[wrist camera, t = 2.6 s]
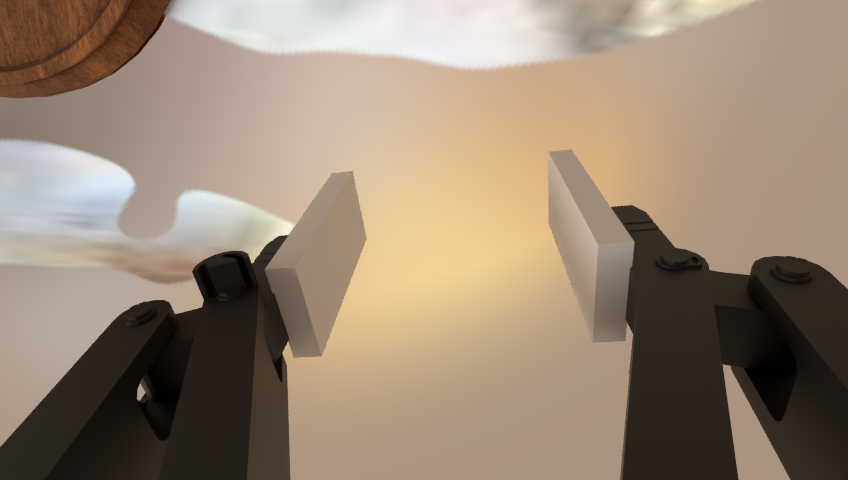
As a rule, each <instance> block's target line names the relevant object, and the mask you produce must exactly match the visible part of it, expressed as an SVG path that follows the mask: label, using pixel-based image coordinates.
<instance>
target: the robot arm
mask: <svg viewBox="0 0 848 480" xmlns="http://www.w3.org/2000/svg"><path fill="white" fill-rule="evenodd" d="M548 158H549V159H548V163H549V165H548V166H549V167H548V168H549V170H548V171H549V225H550V228H551V231H552V234H553V236H554V239H555V242H556V245H557V247H558V249H559V253H560V255H561V258H562V261H563V263H564V266H565V269H566V271H567V274H568V277H569V280H570V282H571V285H572V288H573V290H574V293H575V296H576V298H577V301H578V304H579V306H580V309H581V312H582V315H583V317H584V320H585V322H586V325H587V328H588V331H589V333H590V336H591V339H592V342H593V343H594V342H612V341H613V342H614V341H625V338H626V328H627V323H628V325H629V327H630V329H631V331H632V333H633V342H632V353H631V362H630V371H629V374H630V376H629V386H628V398H627V409H626V420H625V432H624V443H623V455H622V465H621V478H620V480H738V473H737V466H736V459H735V452H734V445H733V438H732V430H731V423H730V416H729V410H728V401H727V394H726V387H725V380H724V372H723V365H722V364H724V365H730V366H731V370H732V372H733V373H734V375H735V377H736V379H737V381H738V383H739V385H740V387H741V388H742V390H743V392H744V394H745V396H746V398H747V399H748V401H749V403H750V405H751V407H752V409H753V410H754V413H755V414H756V416H757V418H758V420H759V422H760V424H761V425H762V427H763V429H764V431H765V433H766V434H767V437H768V438H769V440H770V442H771V444H772V446H773V448H774V450H775V452H776V453H777V455H778V457H779V459H780V461H781V463H782V464H783V466H784V468H785V470H786V472H787V474H788V476H789V478H790V479H791V480H848V289H847V288H846V287H845V286H844V285H842V284H841V283H840V282H839V281H838V280H837V279H836V278H835V277H834V276H833V275H832V274H831V273H830V272H828V271H827V270H826V269H824V268H823V267H821V266H819V265H817V264H814V263H812V262H809V261H807V260H805V259H801V258H796V257H791V256H786V257H783V256H772V257H764V258H761V259H759V260H756V261H755V262H754V264H753V266H752V268H751V273H750V275H742V274H733V273H723V272H717V271H711V270H709V265H708V263H707V262H706V260H705V259H704V258H703V257H701V256H700V255H698V254H696V253H693V252H691V251H688V250H684V249H679V248H675V247H674V246H673V245H672V243H671V242H670V241H669V240H668V239H667V237H666V236H665V235H664V234H663V232H662V231H661V230H659V228H658V226H657V225H656V224H655V223H653V220H652V219H651V218H650V217H649V215H648V214H647V213H646V212H644V211H642V210H640V209H638V208H637V207H635V206H632V205H629V206H617V207H610V205H609V204H608V202H607V201H606V200H605V198H604V197H603V195H602V194H601V192H600V191H599V189H598V188H597V186H596V185H595V183H594V182H593V181H592V179H591V178H590V176H589V175H588V173H587V172H586V170H585V169H584V167H583V166H582V165H581V163H580V162H579V160H578V159H577V157H576V156H575V154H574V153H573V151H572V150H561V151H551V152H548ZM365 241H366V234H365V229H364V224H363V220H362V214H361V210H360V205H359V200H358V195H357V190H356V186H355V181H354V176H353V171H350V172H341V173H332V174H331V176H330V177H329V178H328V180H327V181H326V183H325V184H324V186H323V187H322V188H321V190H320V191H319V193H318V194H317V196H316V197H315V198H314V200H313V201H312V203H311V204H310V206H309V207H308V209H307V210H306V211H305V213H304V214H303V216H302V217H301V218H300V220H299V221H298V223H297V224H296V225H295V227H294V228H293V230H292V231H291V233H290V234H289V235H285V236H278V237H277V238H275V239H274V240H273V241H271V242H270V243H268V244H267V245H266V246H265V247H264V249H263V250H262V251H261V253H260V255H258V257H257V258H256V259H255V261H254V263H252V264H251V261H250V258H249V256H248V254H247V253H245V252H243V251H229V252H223V253H220V254H217V255H213V256H211V257H209V258H207V259H205V260H203V261H202V262H200V263H199V264H198V265H196V266H195V268H194V269H193V271H192V273H193V275H194V277H195V280H196V282H197V284H198V286H199V289H200V292H201V294H202V296H203V299H204V302H203V306H202V308H198V309H195V310H191V311H187V312H183V313H179V314H175V313H174V311H173V309H172V307H171V305H170V303H169V302H167V301H165V300H153V301H149V302H142V303H139V305H138V304H137V305H134V306H132V307H131V308H130V309H128V310H127V311H125V312H123V313H122V314H121V315H119V316H118V317H117V318H116V319H115V320H114V321H113V322H112V323H111V324H110V325H109V327H108V328H107V329H106V330H105V331H104V332H103V333H102V334H101V335H100V336H99V338H98V339H97V340H96V341H95V342H94V343H93V344H92V346H90V348H89V349H88V350H87V351H86V352H85V353H84V355H82V357H81V358H80V359H79V360H78V361H77V362H76V363H75V364H74V365H73V367H72V368H71V369H70V370H69V371H68V372H67V373H66V375H65V376H64V377H63V378H62V379H61V380H60V381H59V382H58V383H57V384H56V386H55V387H54V388H53V389H52V390H51V391H50V392H49V393H48V394H47V396H46V397H45V398H44V399H43V400H42V401H41V402H40V404H39V405H38V406H37V407H36V408H35V409H34V410H33V411H32V412H31V414H30V415H29V416H28V417H27V418H26V419H25V420H24V421H23V422H22V424H21V425H20V426H19V427H18V428H17V429H16V430H15V431H14V432H13V434H12V435H11V436H10V437H9V438H8V439H7V440H6V441H5V443H4V444H3V445H2V446H1V447H0V480H290V457H289V456H290V455H289V424H288V423H289V422H288V388H287V365H286V362H285V359H284V357H283V354H282V352H283V350H284V348H285V346H286V344H287V342H288V341H289V344H290V347H291V350H292V353H293V356H294V357H314V356H322V354H323V351H324V349H325V346H326V343H327V341H328V338H329V336H330V333H331V330H332V328H333V325H334V322H335V320H336V317H337V315H338V312H339V309H340V307H341V304H342V301H343V299H344V296H345V294H346V291H347V288H348V286H349V283H350V280H351V277H352V275H353V272H354V270H355V267H356V265H357V262H358V259H359V257H360V254H361V251H362V249H363V246H364V243H365ZM139 384H141V385H142V387H143V389H144V391H145V394H144V396H143V397H142V399H141V400H140V401H138V400H137V389H138V386H139Z"/></svg>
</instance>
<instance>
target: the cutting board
mask: <svg viewBox="0 0 848 480" xmlns="http://www.w3.org/2000/svg"><path fill="white" fill-rule="evenodd" d="M169 2H170V0H0V97H8V98H30V97H47V96H53V95H57V94H61V93H64V92H69V91H73V90H77V89H81V88H85V87H88V86H90V85H92V84H94V83H96V82H98V81H100V80H102V79H104V78H106V77H108V76H110V75H112V74H114V73H116V72H117V71H118V70H119V69H121V68H122V67H123V66H124V65H126V64H127V63H128V62H129V61H131V60H132V59H133V58H134V57H136V56H137V55H138V54H139V53H140V52H141V50H142V49H143V48H144V47H145V46H146V44H147V43H148V42H149V41H150V39H151V38H152V37H153V36H154V35H155V33H156V32H157V31H158V29H159V28H160V26H161V24H162V22H163V21H164V19H165V17H166V15H165V14H163V13H164V11H165V9H166V8H167V6H168V4H169Z"/></svg>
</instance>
